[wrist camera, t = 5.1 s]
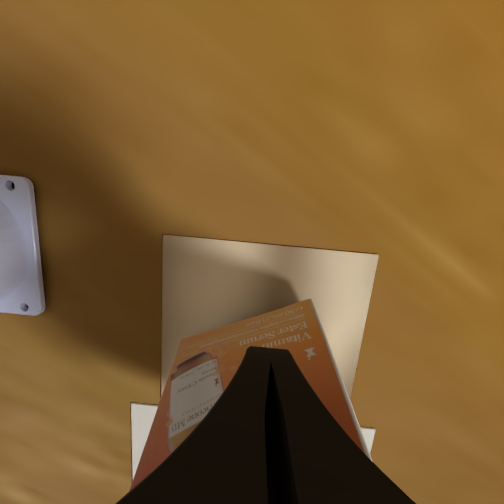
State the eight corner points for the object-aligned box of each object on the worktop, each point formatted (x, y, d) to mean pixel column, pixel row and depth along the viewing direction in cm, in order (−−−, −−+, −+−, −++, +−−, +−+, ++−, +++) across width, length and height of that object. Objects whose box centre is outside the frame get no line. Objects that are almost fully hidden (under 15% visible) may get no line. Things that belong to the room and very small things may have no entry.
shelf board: (162, 397, 19) (161, 400, 18) (164, 233, 16) (162, 234, 16) (344, 416, 18) (345, 420, 18) (376, 253, 16) (378, 254, 15)
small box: (311, 294, 15) (424, 574, 5) (336, 368, 17) (450, 670, 8) (177, 337, 16) (70, 640, 6) (215, 402, 18) (177, 709, 8)
